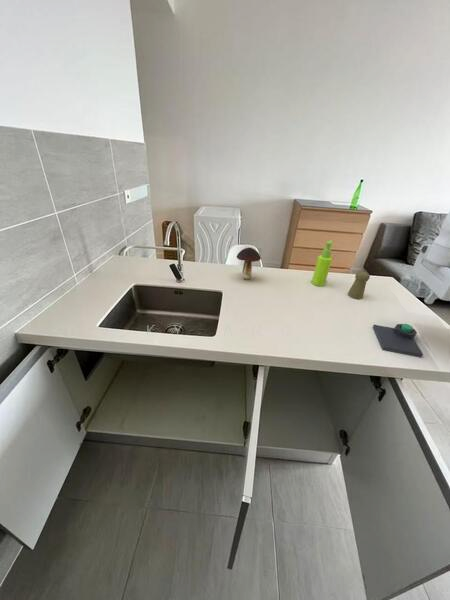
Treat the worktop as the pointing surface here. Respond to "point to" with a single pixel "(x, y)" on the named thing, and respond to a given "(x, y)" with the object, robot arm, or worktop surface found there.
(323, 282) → the soap dispenser
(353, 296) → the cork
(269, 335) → the worktop surface
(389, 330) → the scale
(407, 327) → the power button
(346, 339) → the worktop surface
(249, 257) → the decorative mushroom
